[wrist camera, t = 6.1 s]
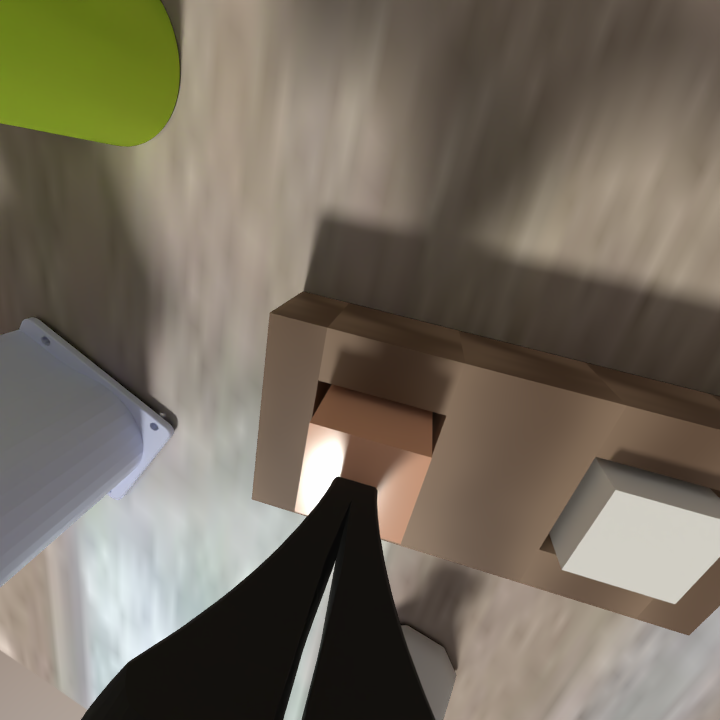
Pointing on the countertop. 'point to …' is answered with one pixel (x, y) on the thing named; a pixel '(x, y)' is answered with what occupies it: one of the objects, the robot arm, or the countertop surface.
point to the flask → (431, 669)
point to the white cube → (638, 530)
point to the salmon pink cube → (368, 453)
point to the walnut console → (489, 439)
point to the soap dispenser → (88, 68)
